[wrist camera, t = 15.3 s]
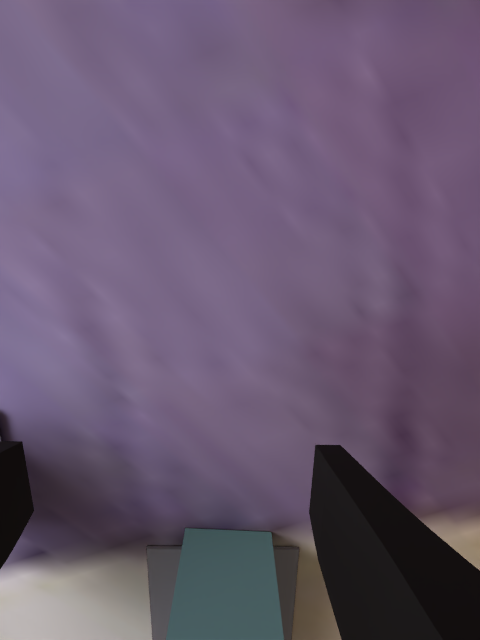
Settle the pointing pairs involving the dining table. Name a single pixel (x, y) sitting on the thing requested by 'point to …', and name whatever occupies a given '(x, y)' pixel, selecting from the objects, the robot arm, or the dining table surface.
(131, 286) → the dining table surface
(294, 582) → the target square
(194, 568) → the teal rectangular box
